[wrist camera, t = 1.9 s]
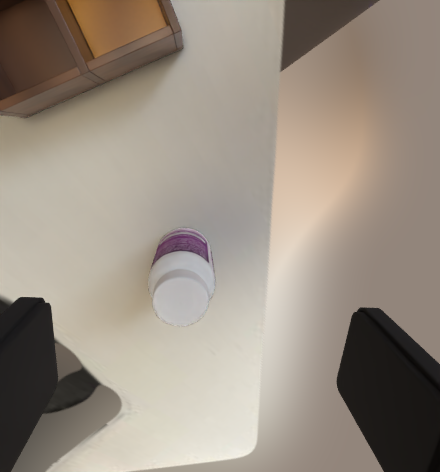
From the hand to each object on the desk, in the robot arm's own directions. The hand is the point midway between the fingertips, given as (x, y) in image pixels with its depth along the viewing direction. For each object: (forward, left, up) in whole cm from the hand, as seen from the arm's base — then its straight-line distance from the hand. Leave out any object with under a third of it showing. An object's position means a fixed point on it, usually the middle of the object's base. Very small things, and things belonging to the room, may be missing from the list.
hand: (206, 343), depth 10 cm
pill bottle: (+3, +4, -21) cm, 22 cm away
